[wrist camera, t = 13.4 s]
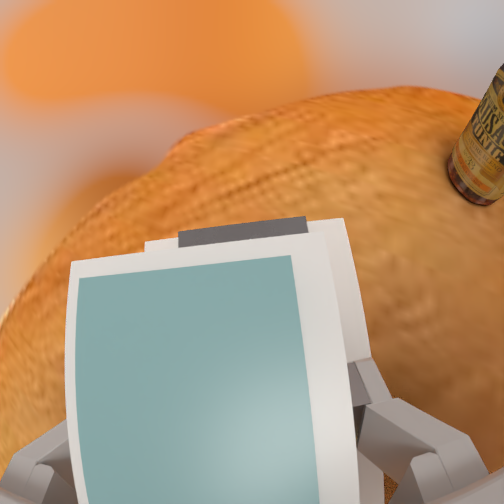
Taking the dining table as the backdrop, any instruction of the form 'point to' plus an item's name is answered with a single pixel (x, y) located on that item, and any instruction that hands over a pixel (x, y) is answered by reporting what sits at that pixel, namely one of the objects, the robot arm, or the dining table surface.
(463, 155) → the sauce bottle
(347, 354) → the rail holder
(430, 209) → the dining table surface
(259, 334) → the module block
